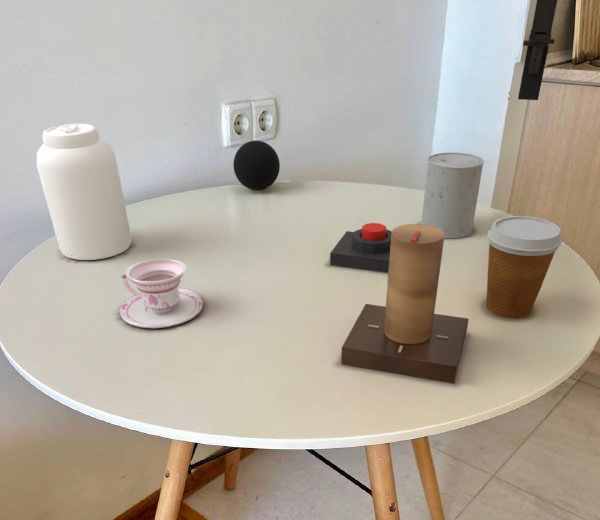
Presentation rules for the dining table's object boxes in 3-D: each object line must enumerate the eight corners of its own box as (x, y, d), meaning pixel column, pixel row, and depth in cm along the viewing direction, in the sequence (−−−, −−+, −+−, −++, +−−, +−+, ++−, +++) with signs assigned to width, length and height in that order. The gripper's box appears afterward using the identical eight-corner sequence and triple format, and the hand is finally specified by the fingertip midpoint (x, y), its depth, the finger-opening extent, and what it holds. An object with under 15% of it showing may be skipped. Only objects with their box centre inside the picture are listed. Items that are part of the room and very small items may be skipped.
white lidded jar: (55, 242, 108) (22, 124, 96) (123, 230, 112) (100, 115, 100) (67, 267, 99) (32, 141, 87) (140, 252, 103) (117, 130, 91)
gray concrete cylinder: (441, 215, 116) (449, 149, 108) (483, 228, 110) (495, 159, 102) (409, 228, 110) (416, 160, 103) (452, 242, 105) (462, 171, 97)
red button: (388, 234, 99) (388, 224, 98) (382, 243, 96) (383, 232, 95) (364, 231, 100) (365, 221, 99) (358, 240, 97) (359, 230, 96)
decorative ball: (289, 188, 131) (288, 140, 125) (255, 199, 125) (252, 149, 119) (260, 179, 137) (257, 133, 131) (226, 189, 131) (221, 141, 125)
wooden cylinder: (389, 317, 78) (397, 218, 70) (435, 324, 77) (448, 224, 69) (378, 339, 74) (386, 237, 66) (426, 347, 72) (440, 243, 64)
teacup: (207, 289, 92) (202, 252, 88) (198, 328, 82) (192, 288, 78) (129, 291, 91) (122, 254, 88) (111, 331, 82) (102, 290, 78)
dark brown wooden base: (466, 334, 79) (469, 317, 78) (454, 383, 70) (457, 365, 69) (364, 319, 83) (365, 302, 82) (341, 364, 74) (341, 346, 73)
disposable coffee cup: (469, 318, 83) (484, 235, 76) (479, 289, 90) (493, 211, 83) (541, 329, 80) (563, 245, 73) (545, 299, 87) (566, 219, 80)
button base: (413, 250, 102) (415, 228, 100) (401, 274, 95) (403, 250, 92) (346, 242, 106) (346, 221, 103) (329, 265, 98) (330, 242, 96)
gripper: (608, -131, 64) (555, 109, 78) (602, -120, 73) (556, 91, 88) (535, -126, 66) (497, 106, 80) (538, -116, 76) (503, 89, 90)
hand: (528, 98), depth 84 cm, fingers closed
